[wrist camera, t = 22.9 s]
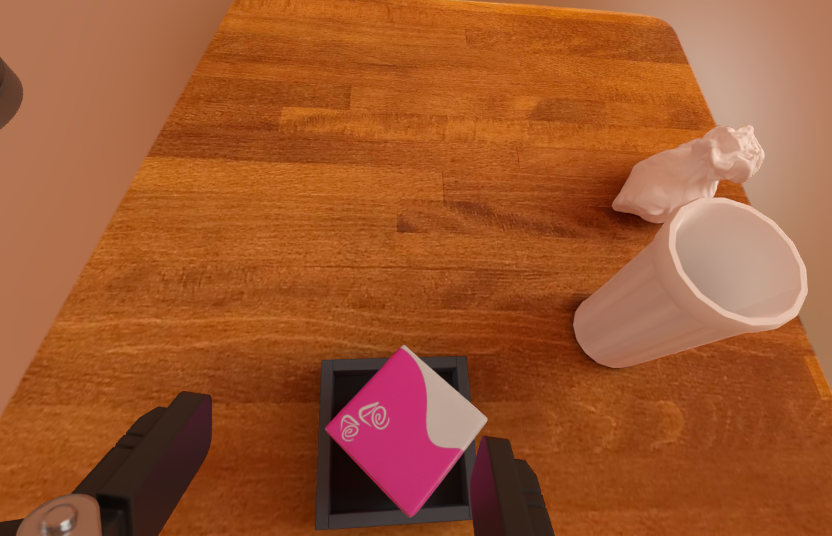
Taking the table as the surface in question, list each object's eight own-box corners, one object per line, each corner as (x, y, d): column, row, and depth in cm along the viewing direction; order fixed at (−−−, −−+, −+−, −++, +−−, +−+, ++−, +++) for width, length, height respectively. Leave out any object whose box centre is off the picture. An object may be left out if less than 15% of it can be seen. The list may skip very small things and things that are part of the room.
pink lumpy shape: (604, 243, 43) (728, 255, 33) (581, 172, 40) (709, 162, 30) (676, 186, 47) (807, 182, 37) (660, 118, 44) (796, 94, 34)
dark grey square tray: (319, 525, 29) (314, 530, 27) (324, 367, 33) (321, 359, 31) (473, 515, 30) (482, 519, 28) (459, 363, 34) (466, 355, 32)
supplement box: (393, 380, 33) (406, 339, 22) (454, 437, 31) (496, 421, 21) (337, 441, 31) (321, 428, 20) (399, 505, 29) (416, 526, 19)
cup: (579, 271, 39) (684, 172, 26) (665, 316, 38) (818, 236, 25) (546, 348, 36) (648, 279, 23) (639, 400, 35) (801, 358, 22)
